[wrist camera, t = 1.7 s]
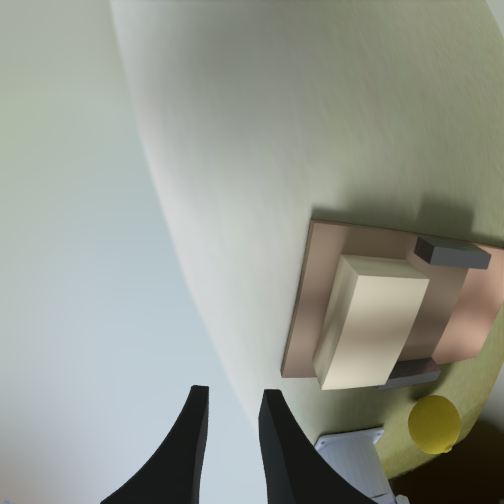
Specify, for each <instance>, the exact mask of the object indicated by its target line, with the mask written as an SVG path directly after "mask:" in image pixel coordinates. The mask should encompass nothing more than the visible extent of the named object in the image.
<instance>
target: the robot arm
mask: <svg viewBox="0 0 504 504" xmlns="http://www.w3.org/2000/svg"><path fill="white" fill-rule="evenodd" d="M208 405H209V387H208V386H198V385H193V386H192V387H191V390H190V393H189V395H188V398H187V400H186V403H185V405H184V407H183V409H182V411H181V413H180V415H179V416H178V418H177V420H176V422H175V424H174V425H173V427H172V429H171V430H170V432H169V433H168V435H167V436H166V438H165V439H164V441H163V442H162V443H161V445H160V446H159V448H158V449H157V450H156V451H155V453H154V454H153V455H152V456H151V458H150V459H149V460H148V461H147V462H146V463H145V464H144V465H143V467H142V468H141V469H140V470H139V471H138V472H137V473H136V474H135V475H134V476H133V477H132V478H130V479H129V480H128V481H127V482H126V483H125V484H124V485H123V486H121V487H120V488H119V489H118V490H116V491H115V492H114V493H112V494H111V495H110V496H108V497H107V498H106V499H104V500H103V501H102V502H101V503H100V504H199V489H200V478H201V471H202V465H203V459H204V452H205V447H206V441H207V431H208V412H209V411H208V409H209V406H208ZM258 420H259V440H260V447H261V453H262V459H263V465H264V471H265V477H266V484H267V498H268V504H409V501H408V499H407V497H405V496H402V495H399V496H397V497H396V498H395V496H394V495H393V493H392V491H391V488H390V486H389V483H388V480H387V477H386V475H385V472H384V469H383V467H382V464H381V461H380V459H379V456H378V454H377V451H376V448H375V446H374V444H375V443H376V442H377V440H378V439H379V437H380V436H381V435H382V433H383V432H384V427H380V428H374V429H369V430H363V431H356V432H349V433H342V434H333V435H324V436H321V437H320V438H319V440H318V442H317V444H316V445H315V447H313V445H312V444H311V442H310V441H309V440H308V438H307V437H306V435H305V434H304V433H303V431H302V429H301V428H300V426H299V425H298V423H297V421H296V420H295V418H294V416H293V415H292V413H291V411H290V409H289V407H288V405H287V403H286V401H285V399H284V397H283V395H282V392H281V391H280V390H279V389H264V394H263V399H262V403H261V408H260V412H259V417H258ZM396 500H397V501H396ZM4 504H14V503H12V502H11V501H9V500H7V499H5V501H4Z"/></svg>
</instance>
